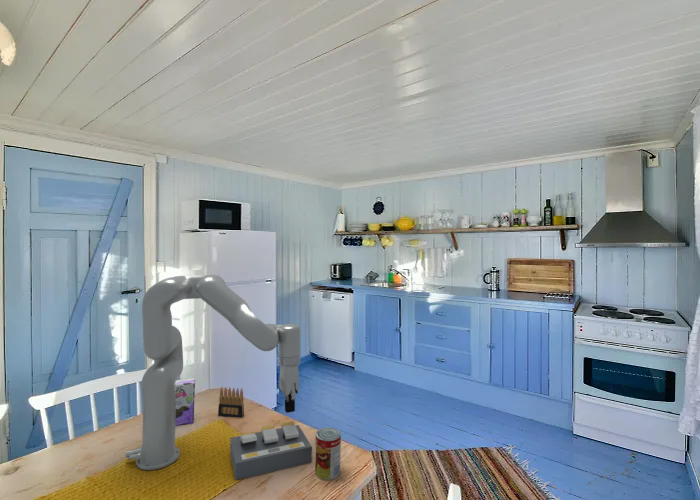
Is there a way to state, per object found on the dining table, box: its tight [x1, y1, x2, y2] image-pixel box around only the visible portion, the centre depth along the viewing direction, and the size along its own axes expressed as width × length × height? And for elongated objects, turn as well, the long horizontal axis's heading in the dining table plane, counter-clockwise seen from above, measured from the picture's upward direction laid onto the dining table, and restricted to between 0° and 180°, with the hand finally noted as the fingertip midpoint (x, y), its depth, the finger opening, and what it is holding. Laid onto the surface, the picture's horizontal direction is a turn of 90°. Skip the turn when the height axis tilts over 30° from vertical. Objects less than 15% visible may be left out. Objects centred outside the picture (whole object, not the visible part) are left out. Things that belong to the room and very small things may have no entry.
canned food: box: [314, 427, 342, 481], centre depth 110 cm, size 8×8×12 cm
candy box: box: [175, 377, 196, 427], centre depth 140 cm, size 14×6×16 cm, turn 112°
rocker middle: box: [260, 424, 278, 444], centre depth 119 cm, size 4×7×1 cm, turn 24°
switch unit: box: [229, 424, 313, 481], centre depth 117 cm, size 24×16×6 cm, turn 114°
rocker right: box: [280, 420, 299, 439], centre depth 121 cm, size 4×7×1 cm, turn 24°
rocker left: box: [239, 432, 257, 443], centre depth 116 cm, size 4×7×1 cm, turn 24°
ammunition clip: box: [217, 386, 245, 419], centre depth 146 cm, size 11×2×12 cm, turn 83°
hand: (289, 411), depth 124 cm, fingers closed
